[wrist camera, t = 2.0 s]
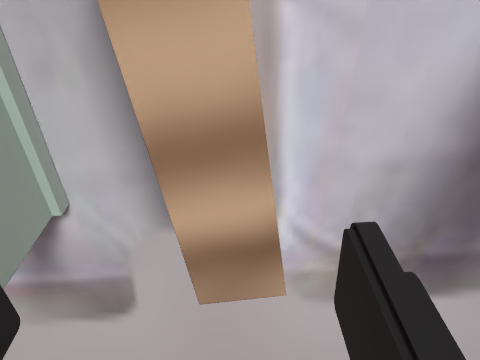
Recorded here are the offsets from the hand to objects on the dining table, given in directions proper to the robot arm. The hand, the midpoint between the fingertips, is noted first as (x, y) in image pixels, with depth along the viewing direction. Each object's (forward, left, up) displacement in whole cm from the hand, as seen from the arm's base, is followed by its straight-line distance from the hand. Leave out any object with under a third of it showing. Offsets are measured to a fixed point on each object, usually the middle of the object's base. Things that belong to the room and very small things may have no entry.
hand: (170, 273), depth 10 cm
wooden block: (-1, 0, -13) cm, 13 cm away
